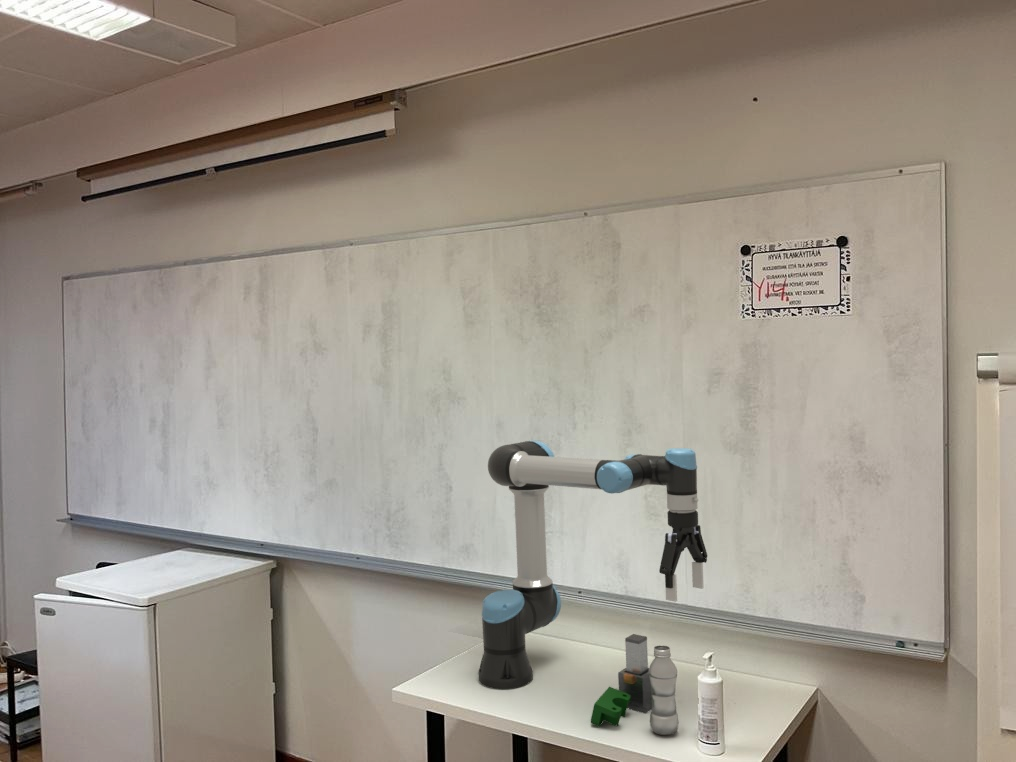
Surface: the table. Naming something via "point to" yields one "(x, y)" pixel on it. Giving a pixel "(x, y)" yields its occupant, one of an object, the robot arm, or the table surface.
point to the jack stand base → (636, 690)
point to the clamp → (610, 707)
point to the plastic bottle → (663, 692)
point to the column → (636, 654)
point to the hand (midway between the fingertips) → (685, 594)
